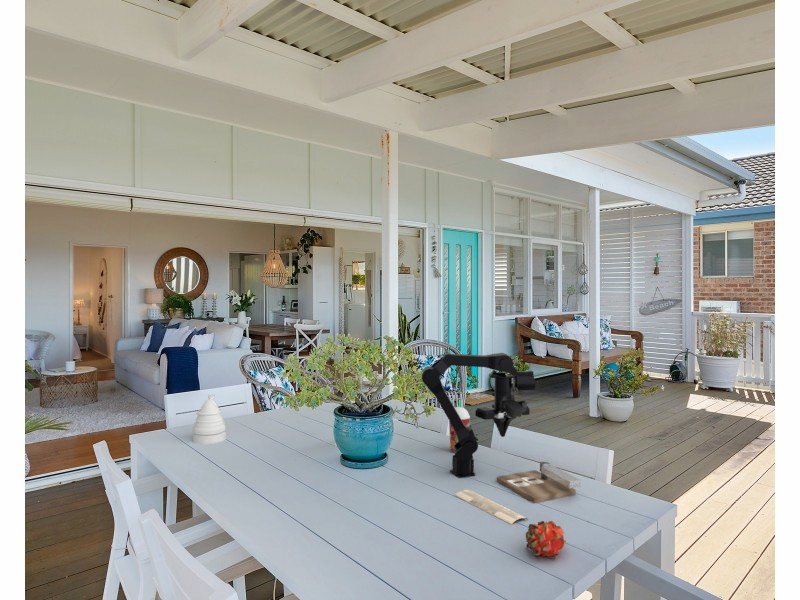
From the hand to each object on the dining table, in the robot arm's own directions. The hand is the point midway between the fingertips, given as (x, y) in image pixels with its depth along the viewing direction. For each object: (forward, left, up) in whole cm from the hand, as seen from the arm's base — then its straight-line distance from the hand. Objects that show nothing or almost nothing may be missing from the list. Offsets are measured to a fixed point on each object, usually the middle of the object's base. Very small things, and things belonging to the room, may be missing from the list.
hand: (502, 436), depth 177 cm
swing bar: (+7, -19, -9) cm, 22 cm away
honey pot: (-87, +83, -13) cm, 121 cm away
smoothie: (0, +28, -13) cm, 31 cm away
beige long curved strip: (-20, -20, -14) cm, 32 cm away
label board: (+2, -14, -13) cm, 19 cm away
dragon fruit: (-22, -48, -13) cm, 54 cm away
